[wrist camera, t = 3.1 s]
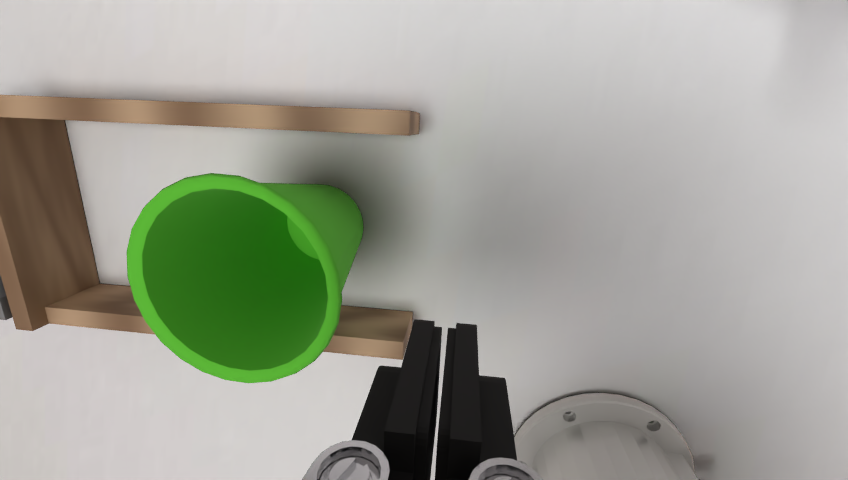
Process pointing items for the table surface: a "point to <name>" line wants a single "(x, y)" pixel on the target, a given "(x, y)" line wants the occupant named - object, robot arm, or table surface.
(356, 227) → the cup
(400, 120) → the bay
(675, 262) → the table surface
